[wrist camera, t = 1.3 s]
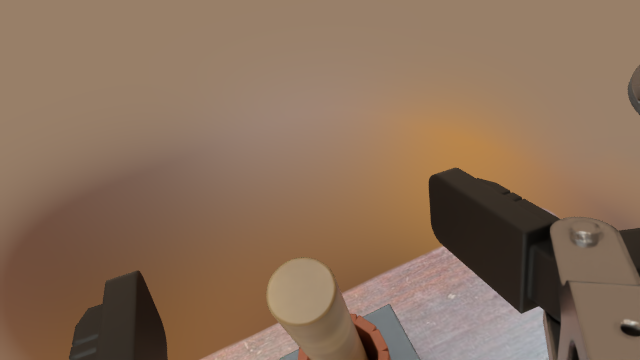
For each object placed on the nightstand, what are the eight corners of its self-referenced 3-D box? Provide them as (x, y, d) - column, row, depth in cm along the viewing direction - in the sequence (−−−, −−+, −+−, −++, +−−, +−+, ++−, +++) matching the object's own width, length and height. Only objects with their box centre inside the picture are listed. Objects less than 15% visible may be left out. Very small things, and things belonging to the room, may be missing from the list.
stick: (369, 363, 27) (319, 244, 14) (386, 399, 26) (348, 305, 13) (336, 379, 27) (255, 275, 14) (351, 417, 26) (279, 339, 13)
